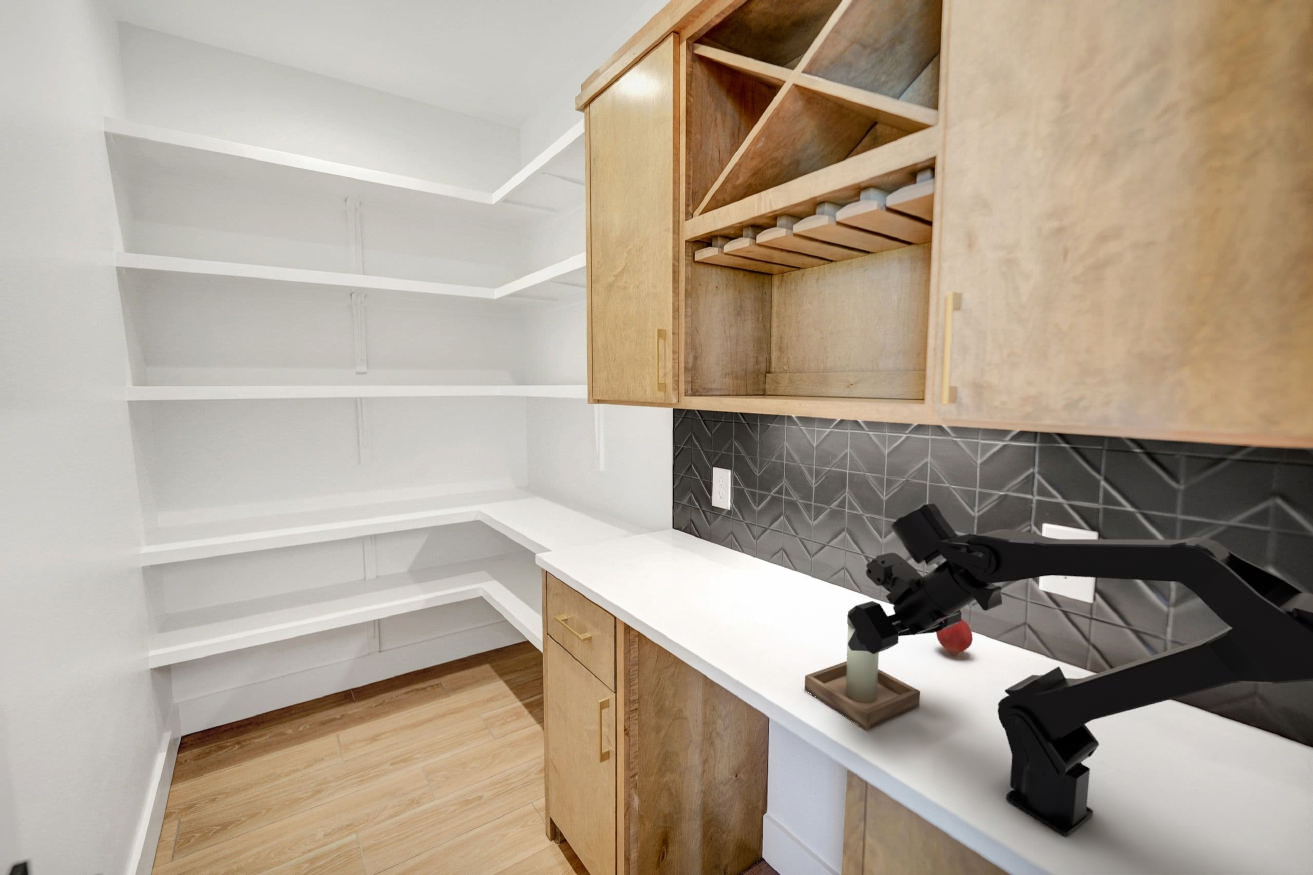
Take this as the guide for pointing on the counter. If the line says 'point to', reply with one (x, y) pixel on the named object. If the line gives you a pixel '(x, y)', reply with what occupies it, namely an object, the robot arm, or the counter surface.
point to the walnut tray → (887, 706)
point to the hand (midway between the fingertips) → (870, 640)
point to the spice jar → (861, 672)
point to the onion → (955, 637)
